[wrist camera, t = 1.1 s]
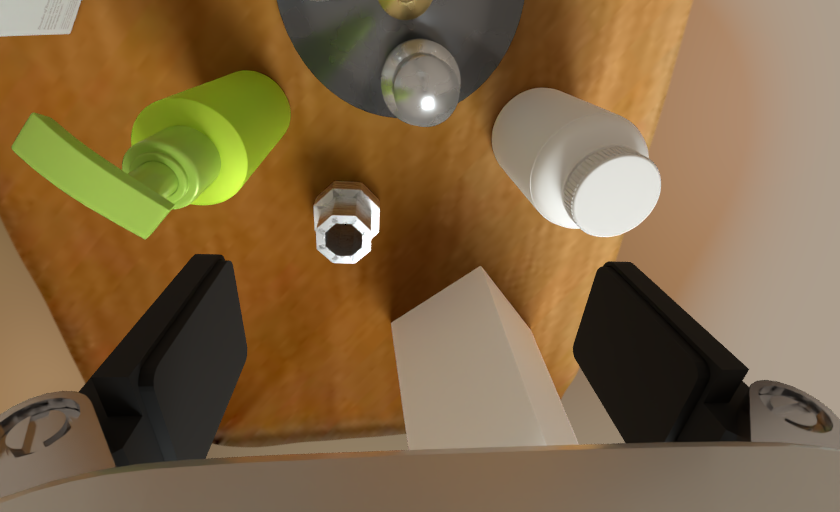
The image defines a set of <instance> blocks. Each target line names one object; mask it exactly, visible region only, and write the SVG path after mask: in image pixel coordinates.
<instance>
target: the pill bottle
mask: <svg viewBox="0 0 840 512" xmlns="http://www.w3.org/2000/svg"><path fill="white" fill-rule="evenodd" d="M492 148H493V152H494V155H495V157H496V160H497V161H498V163H499V165H500V166H501V167H502V169H503V170H504V171H505V172H506V173H507V175H508V176H509V177H510V178H511V179H512V181H513V182H514V183H515V184H516V185H517V187H518V188H519V189H520V190H521V191H522V193H523V194H524V195H525V196H526V197H527V199H528V200H529V201H530V202H531V203H532V205H533V206H534V207H535V208H536V209H537V211H538V212H539V213H540V214H541V215H542V216H543V217H545V218H546V219H547V220H549V221H550V222H552V223H554V224H557V225H559V226H562V227H566V228H573V229H581V230H583V231H584V232H586V233H587V234H590V235H593V236H597V237H611V236H616V235H620V234H623V233H625V232H627V231H629V230H631V229H633V228H634V227H636V226H637V225H639V224H640V223H641V222H642V221H643V220H644V219H645V218H646V217H647V216H648V215H649V214H650V213H651V211H652V210H653V208H654V206H655V205H656V203H657V201H658V198H659V195H660V190H661V178H660V174H659V171H658V168H657V167H656V165H655V164H654V162H652V161H651V160H650V159H649V154H648V149H647V145H646V142H645V140H644V138H643V136H642V135H641V133H640V131H639V130H638V129H637V127H636V126H635V125H634V124H632V123H631V122H630V121H629V120H627V119H625V118H624V117H622V116H619V115H617V114H615V113H612V112H610V111H608V110H605V109H603V108H600V107H598V106H595V105H593V104H591V103H588V102H586V101H583V100H581V99H579V98H576V97H574V96H571V95H569V94H566V93H564V92H562V91H559V90H556V89H552V88H534V89H530V90H527V91H524V92H522V93H520V94H518V95H517V96H515V97H514V98H513V99H511V100H510V101H509V102H508V103H507V104H506V105H505V106H504V107H503V109H502V110H501V112H500V113H499V115H498V117H497V119H496V121H495V124H494V127H493V131H492Z"/></svg>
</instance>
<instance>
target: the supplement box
mask: <svg viewBox="0 0 840 512" xmlns="http://www.w3.org/2000/svg"><path fill="white" fill-rule="evenodd" d="M80 3H81V0H0V36H22V35H52V34H70V32H71V30H72V27H73V24H74V21H75V18H76V15H77V12H78V9H79V6H80Z"/></svg>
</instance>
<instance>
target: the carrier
mask: <svg viewBox="0 0 840 512" xmlns="http://www.w3.org/2000/svg"><path fill="white" fill-rule="evenodd" d="M277 3H278V7H279V11H280V14H281V17H282V20H283V23H284V25H285V28H286V31H287V33H288V35H289V37H290V39H291V41H292V43H293V45H294V47H295V49H296V51H297V52H298V54H299V55H300V57H301V58H302V60H303V61H304V63H305V64H306V66H307V67H308V68H309V69H310V71H311V72H312V73H313V74H314V75H315V77H316V78H317V79H318V80H319V81H320V82H321V83H322V84H324V85H325V86H326V87H327V88H328V89H329V90H330V91H332V92H333V93H334V94H335V95H337V96H338V97H339V98H341V99H342V100H344V101H346V102H348V103H349V104H351V105H353V106H355V107H357V108H359V109H362V110H364V111H367V112H369V113H373V114H377V115H380V116H386V117H393V118H398V119H400V120H401V121H403V122H405V123H408V124H411V125H416V126H421V127H431V126H435V125H438V124H440V123H442V122H444V121H445V120H446V119H447V118H448V117H449V116H450V115H451V114H452V113H453V111H454V110H455V108H456V106H457V103H459V102H460V101H462V100H464V99H465V98H466V97H468V96H469V95H470V94H472V93H473V92H474V91H475V90H477V89H478V88H479V87H480V86H481V85H482V84H483V83H484V82H485V81H486V80H487V79H488V78H489V76H490V75H491V74H492V72H493V71H494V70H495V69H496V67H497V66H498V65H499V63H500V61H501V60H502V58H503V57H504V55H505V53H506V52H507V50H508V48H509V46H510V43H511V41H512V39H513V37H514V35H515V32H516V29H517V26H518V23H519V20H520V17H521V13H522V8H523V4H524V0H277Z"/></svg>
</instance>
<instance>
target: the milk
mask: <svg viewBox="0 0 840 512" xmlns="http://www.w3.org/2000/svg"><path fill="white" fill-rule="evenodd" d="M391 326H392V334H393V341H394V348H395V355H396V363H397V370H398V377H399V384H400V391H401V399H402V406H403V413H404V420H405V427H406V435H407V442H408V449H409V450H422V449H452V448H482V447H514V446H545V445H579V443H578V441H577V438H576V436H575V434H574V431H573V429H572V426H571V424H570V422H569V419H568V417H567V415H566V412H565V410H564V408H563V405H562V403H561V400H560V398H559V396H558V393H557V391H556V389H555V386H554V384H553V381H552V379H551V377H550V374H549V372H548V370H547V367H546V365H545V363H544V360H543V358H542V355H541V353H540V351H539V348H538V346H537V344H536V341H535V339H534V336H533V334H532V332H531V330H530V328H529V327H528V326H527V324H526V323H525V322H524V321H523V319H522V318H521V317H520V315H519V314H518V313H517V312H516V310H515V309H514V308H513V306H512V305H511V304H510V303H509V301H508V300H507V299H506V297H505V296H504V295H503V294H502V292H501V291H500V290H499V288H498V287H497V286H496V285H495V283H494V282H493V281H492V279H491V278H490V277H489V276H488V274H487V273H486V272H485V270H484V269H483V268H482V267H481V266H479V267H478V268H476V269H474V270H473V271H471V272H470V273H468V274H467V275H465V276H463V277H462V278H460V279H459V280H457V281H456V282H454V283H453V284H451V285H449V286H448V287H446V288H445V289H443V290H442V291H440V292H438V293H437V294H435V295H434V296H432V297H431V298H429V299H427V300H426V301H424V302H423V303H421V304H420V305H418V306H417V307H415V308H413V309H412V310H410V311H409V312H407V313H406V314H404V315H402V316H401V317H399V318H398V319H396V320H395V321H393V322H392V323H391Z"/></svg>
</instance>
